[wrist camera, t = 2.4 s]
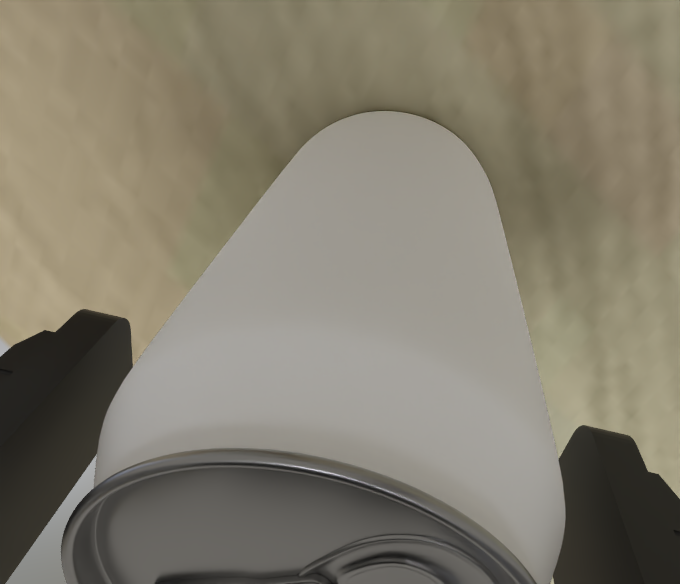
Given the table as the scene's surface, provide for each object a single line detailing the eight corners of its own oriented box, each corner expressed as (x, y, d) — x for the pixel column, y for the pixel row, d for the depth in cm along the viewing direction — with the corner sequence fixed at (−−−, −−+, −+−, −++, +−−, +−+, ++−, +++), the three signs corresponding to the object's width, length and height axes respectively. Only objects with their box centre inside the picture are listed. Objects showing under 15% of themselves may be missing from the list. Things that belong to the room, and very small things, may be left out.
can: (522, 271, 16) (657, 762, 6) (335, 327, 19) (211, 756, 8) (451, 65, 14) (490, 337, 4) (243, 159, 16) (-97, 491, 6)
